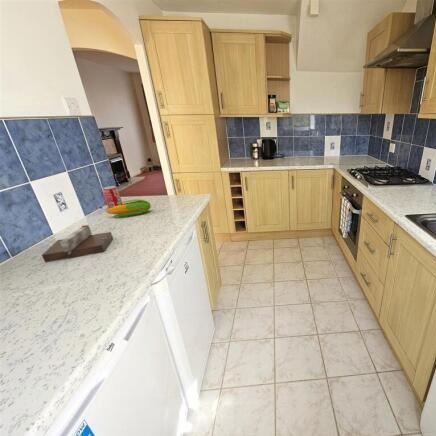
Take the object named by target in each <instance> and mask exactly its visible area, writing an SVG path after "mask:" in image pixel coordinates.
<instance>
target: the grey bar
mask: <svg viewBox="0 0 436 436" xmlns="http://www.w3.org/2000/svg"><path fill="white" fill-rule="evenodd" d="M90 235H93V233H92V230H91V228H90V225H88V224H83V225H82V226H80V227H79V228H78V229H76V230H75V231H74V232H72V233H70V234H69V235H67V236H66V237H65V238H63V239H64V240H62V239H61V240H62V241H61V242H60V244H61V246H62V248H63V250H64V252H67V251H71V250H72V249H74V248H75V247H76V246H78V245H79V244H80V243H81V242H83V241H84V240H85V239H86V238H88V237H89V236H90Z"/></svg>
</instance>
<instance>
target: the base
mask: <svg viewBox="0 0 436 436" xmlns="http://www.w3.org/2000/svg"><path fill="white" fill-rule="evenodd" d="M113 236H114V235H113V234H112V232H111V231H108V232H102V233H101V232H100V233H95V234H91V235H90V236H89V237H88V238H86V239H85V240H84V241H83V242H81V243H80V244H79V245H78V246H76V247H75V248H74V249H72V250H71V251H67V252H64V250H63V248H62V246H61V244H60V242H61V241H62V240H64V239H65V238H62V239H58V240H56V241H55V242H54V243H53V244H52V245H51V246H49V248H48V249H46V250H45V251H44V252H43V253H42V254H41V257H42V258H43V261H44V262H45V263H48V262H54V261H59V260H66V259H73V258H77V257H83V256H89V255H94V254H100V253H104V252H105V251H106V250H107V249H108V247H109V245H110V244H111V242H112V241H113V239H114V237H113Z"/></svg>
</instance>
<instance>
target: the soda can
mask: <svg viewBox="0 0 436 436" xmlns="http://www.w3.org/2000/svg"><path fill="white" fill-rule="evenodd" d="M102 195H103V197H104V201H105V203H106V206H107V208H108V209H110V208H112V207H115V206H118V205H121V204H123V203H120V202H123V201H122V198H121V194H120V191H119V189H118V188H117V187H116V185H108V186H105V187H104V186H103V188H102ZM117 203H119V204H117Z"/></svg>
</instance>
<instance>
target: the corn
mask: <svg viewBox="0 0 436 436" xmlns="http://www.w3.org/2000/svg"><path fill="white" fill-rule="evenodd" d="M120 203H122V204H121V205H118V206H115V207H112V208H108V209H106V211H105V212H106V213H107V214H109V215H113V217H114V218H115V217H116V218H119V217H120V218H121V217H122V218H123V217H130V216H136V215H137V216H138V215H143V214H145V213H147V212H148V211H149V210H150V209H151V203H150V202H149V201H147V200H145V199H131V200H125V201H122V202H120ZM117 204H119V203H117Z"/></svg>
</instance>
